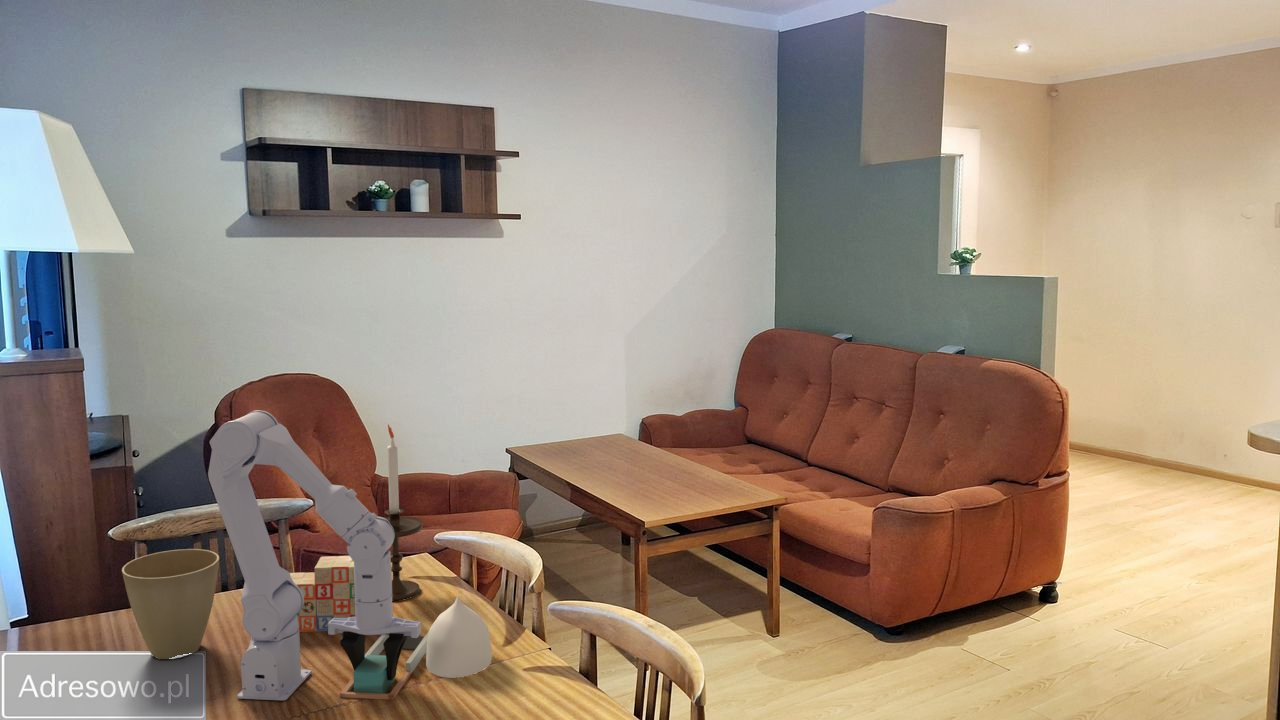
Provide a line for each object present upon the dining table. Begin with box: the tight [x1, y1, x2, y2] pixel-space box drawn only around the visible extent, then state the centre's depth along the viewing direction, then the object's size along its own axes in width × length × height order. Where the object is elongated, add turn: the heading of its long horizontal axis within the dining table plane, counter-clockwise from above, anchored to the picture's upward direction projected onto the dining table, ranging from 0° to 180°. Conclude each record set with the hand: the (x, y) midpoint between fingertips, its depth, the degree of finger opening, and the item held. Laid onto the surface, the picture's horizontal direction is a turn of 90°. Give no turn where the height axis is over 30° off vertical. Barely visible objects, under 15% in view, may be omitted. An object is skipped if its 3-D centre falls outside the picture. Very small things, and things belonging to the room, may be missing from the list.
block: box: [352, 654, 396, 694], centre depth 145 cm, size 6×4×4 cm
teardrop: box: [425, 595, 493, 679], centre depth 153 cm, size 11×11×12 cm
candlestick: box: [383, 423, 423, 602], centre depth 182 cm, size 11×11×35 cm
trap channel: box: [339, 629, 430, 701], centre depth 154 cm, size 24×9×2 cm, turn 176°
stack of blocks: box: [289, 555, 355, 633], centre depth 168 cm, size 21×6×12 cm, turn 97°
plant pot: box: [121, 548, 220, 660], centre depth 157 cm, size 15×15×16 cm
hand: (376, 676), depth 146 cm, fingers closed on block, 4 cm apart
